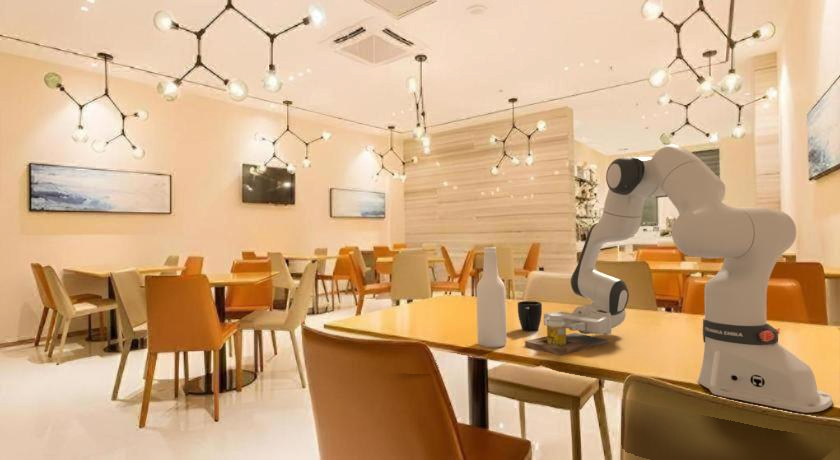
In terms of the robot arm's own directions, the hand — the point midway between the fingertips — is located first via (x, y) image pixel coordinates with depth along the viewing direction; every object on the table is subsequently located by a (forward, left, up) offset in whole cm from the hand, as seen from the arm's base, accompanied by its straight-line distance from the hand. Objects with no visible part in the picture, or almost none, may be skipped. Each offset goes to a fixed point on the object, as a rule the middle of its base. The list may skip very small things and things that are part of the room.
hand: (557, 325), depth 136 cm
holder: (0, +1, -6) cm, 6 cm away
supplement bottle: (0, +1, -7) cm, 7 cm away
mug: (+20, -9, -7) cm, 23 cm away
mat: (0, -11, -6) cm, 13 cm away
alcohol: (+14, +14, -7) cm, 21 cm away
